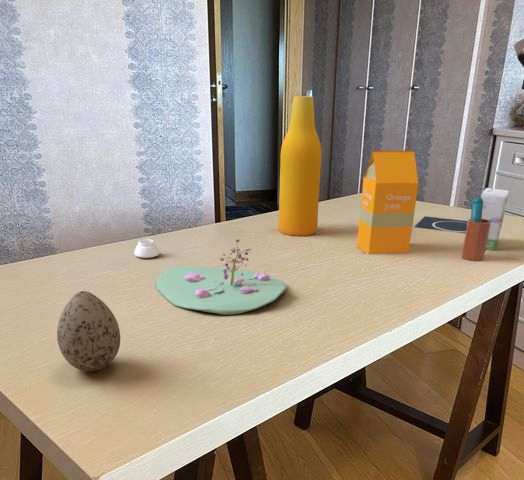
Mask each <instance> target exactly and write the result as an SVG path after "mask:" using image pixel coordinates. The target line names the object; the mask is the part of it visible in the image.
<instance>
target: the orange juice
mask: <svg viewBox="0 0 524 480" xmlns="http://www.w3.org/2000/svg"><path fill="white" fill-rule="evenodd" d="M416 161H417V160H416V154H415V150H372V152H371V156H370V158H369V161H368V164H367V166H366V170H365V173H364V175H363V179H362V191H361V200H360V209H359V219H358V220H359V221H358V231H357V240H356V241H357V243H356V247H357V248H358V249H359V250H361V251H362V252H363V254H368V255H377V254H378V255H383V254H385V255H386V254H388V255H389V254H408V253H410V246H411V245H410V244H411V239H412V232H413V227H414V218H415V210H416V204H417V202H416V201H417V196H418V189H419V184H420V183H419V179H418V171H417V170H418V169H417V163H416Z"/></svg>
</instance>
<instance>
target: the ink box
mask: <svg viewBox="0 0 524 480" xmlns="http://www.w3.org/2000/svg"><path fill="white" fill-rule="evenodd" d="M509 193H510V190H506V189H498V188H491V187H485V189H484V190H483V191H482V194H481V196H480V197H481V198H482V199H483V210H482V219H487V220H490V221H491V226H490V230H489V235H488V240H487V245H486V249H485V251H494V252H495V251H496V248H497V246H498V242H499V238H500V235H501V230H502V226H503V221H504V217H505V212H506V208H507V203H508V198H509Z"/></svg>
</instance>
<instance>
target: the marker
mask: <svg viewBox="0 0 524 480" xmlns="http://www.w3.org/2000/svg"><path fill="white" fill-rule="evenodd" d="M482 210H483V199H482V198H481V196H476V197H474V198H473V199H472V202H471V211H470V219H471V221H473V222H478V223H481V220H482Z"/></svg>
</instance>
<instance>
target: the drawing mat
mask: <svg viewBox="0 0 524 480" xmlns="http://www.w3.org/2000/svg"><path fill="white" fill-rule="evenodd" d="M467 224H468V220H461V219H452V218H444V217H434V216H426V215H425V216H423V217H422V219H420V220H419V222H417V223H416V224H415V225H414V229H415V228H416V229H425V230H431V231H442V232H450V233H458V234H464V235H465V234H466V229H467Z"/></svg>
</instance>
